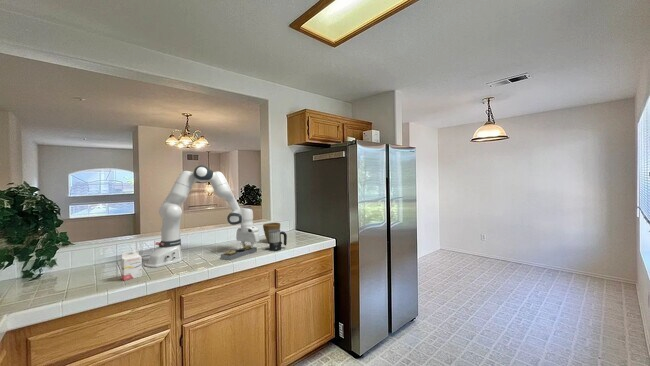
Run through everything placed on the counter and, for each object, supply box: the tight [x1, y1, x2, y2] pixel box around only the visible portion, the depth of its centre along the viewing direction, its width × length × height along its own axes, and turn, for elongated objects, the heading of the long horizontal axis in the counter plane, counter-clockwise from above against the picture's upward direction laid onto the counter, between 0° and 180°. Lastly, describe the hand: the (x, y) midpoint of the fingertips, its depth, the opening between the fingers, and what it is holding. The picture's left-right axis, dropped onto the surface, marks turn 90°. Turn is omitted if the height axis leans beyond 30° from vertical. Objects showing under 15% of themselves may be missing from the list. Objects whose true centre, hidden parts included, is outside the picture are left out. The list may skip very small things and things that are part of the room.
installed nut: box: [224, 249, 236, 255], centre depth 182 cm, size 5×5×5 cm
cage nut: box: [242, 244, 252, 250], centre depth 196 cm, size 5×5×5 cm
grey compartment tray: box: [220, 246, 258, 261], centre depth 189 cm, size 25×9×4 cm, turn 151°
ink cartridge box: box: [120, 249, 143, 281], centre depth 149 cm, size 9×5×15 cm, turn 141°
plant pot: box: [262, 222, 281, 244], centre depth 228 cm, size 15×15×16 cm
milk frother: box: [268, 229, 288, 252], centre depth 207 cm, size 14×16×15 cm
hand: (247, 247), depth 196 cm, fingers open, 6 cm apart
